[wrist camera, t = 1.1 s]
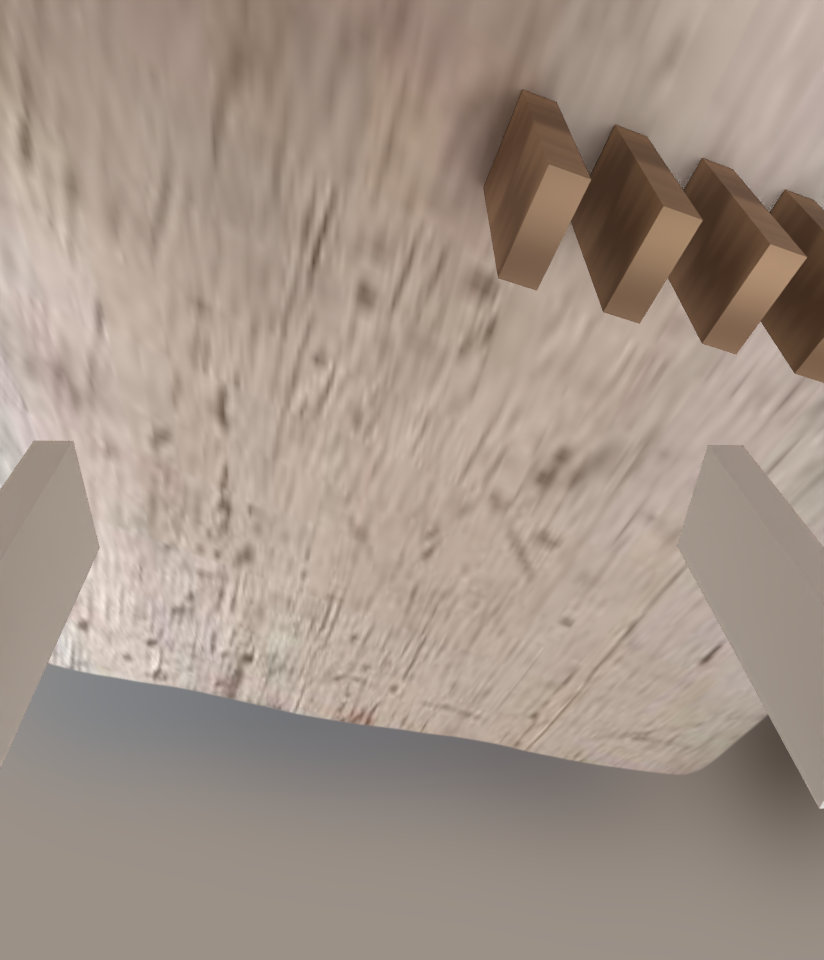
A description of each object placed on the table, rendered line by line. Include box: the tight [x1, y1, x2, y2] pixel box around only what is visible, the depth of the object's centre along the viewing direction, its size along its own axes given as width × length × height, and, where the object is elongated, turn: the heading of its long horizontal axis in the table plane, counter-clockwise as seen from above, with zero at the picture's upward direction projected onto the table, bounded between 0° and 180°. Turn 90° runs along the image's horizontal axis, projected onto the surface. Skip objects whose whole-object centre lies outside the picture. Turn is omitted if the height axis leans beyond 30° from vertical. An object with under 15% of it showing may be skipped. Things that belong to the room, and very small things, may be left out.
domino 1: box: [484, 90, 591, 290], centre depth 34 cm, size 5×2×10 cm, turn 162°
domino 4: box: [761, 190, 824, 383], centre depth 38 cm, size 5×2×10 cm, turn 161°
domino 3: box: [668, 158, 807, 354], centre depth 37 cm, size 5×2×10 cm, turn 161°
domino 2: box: [571, 125, 703, 324], centre depth 35 cm, size 5×2×10 cm, turn 161°
